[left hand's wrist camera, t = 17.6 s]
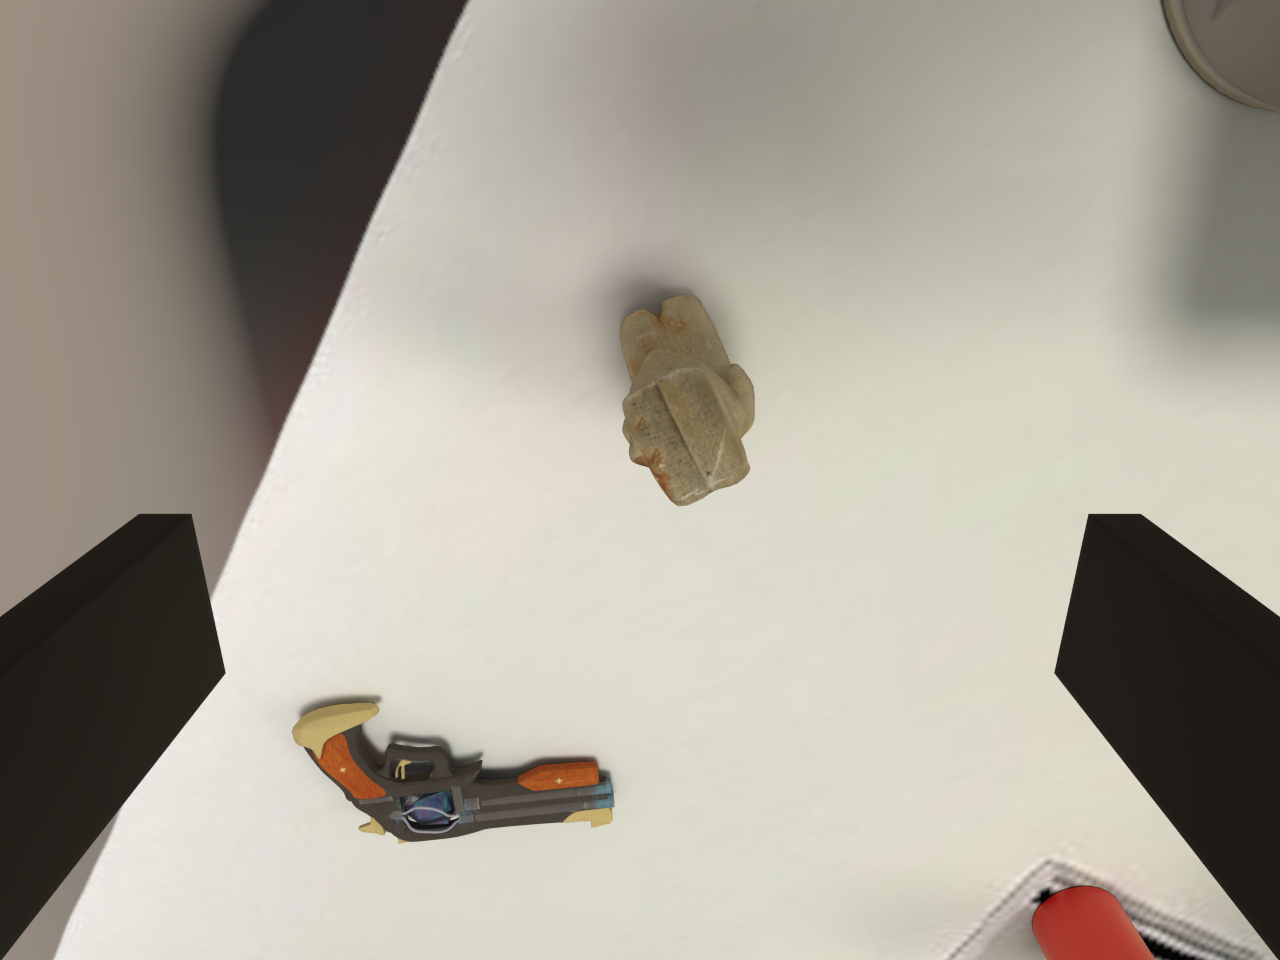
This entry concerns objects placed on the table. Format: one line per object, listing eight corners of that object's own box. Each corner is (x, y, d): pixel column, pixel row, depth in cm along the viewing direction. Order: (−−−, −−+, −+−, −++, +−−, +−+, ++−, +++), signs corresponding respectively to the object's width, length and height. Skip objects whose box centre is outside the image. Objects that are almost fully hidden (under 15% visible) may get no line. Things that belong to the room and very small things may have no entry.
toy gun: (282, 725, 50) (312, 868, 53) (602, 693, 51) (616, 835, 53) (297, 702, 53) (325, 839, 55) (601, 671, 53) (615, 808, 56)
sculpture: (709, 276, 43) (743, 341, 29) (754, 404, 45) (805, 521, 31) (602, 317, 44) (585, 399, 30) (652, 441, 46) (657, 571, 32)
